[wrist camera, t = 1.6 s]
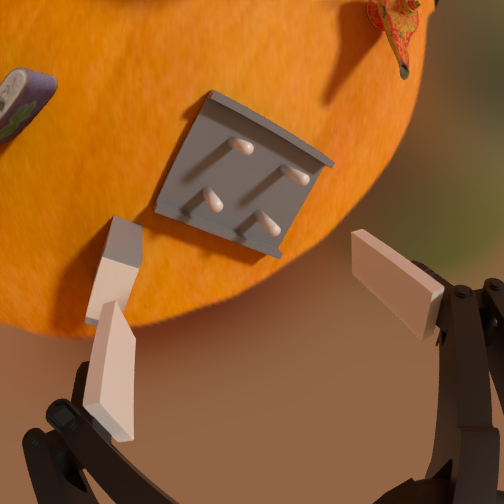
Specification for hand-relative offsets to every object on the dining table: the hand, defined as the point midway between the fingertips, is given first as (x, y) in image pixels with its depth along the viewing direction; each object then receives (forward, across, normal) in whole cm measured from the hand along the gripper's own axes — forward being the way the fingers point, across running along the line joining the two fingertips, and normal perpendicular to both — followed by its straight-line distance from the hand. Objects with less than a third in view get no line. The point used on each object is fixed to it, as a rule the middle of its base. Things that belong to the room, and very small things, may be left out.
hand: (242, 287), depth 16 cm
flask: (+18, -16, +15) cm, 29 cm away
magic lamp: (+20, +27, +19) cm, 39 cm away
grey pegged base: (+20, +5, +1) cm, 21 cm away
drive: (+20, -12, -4) cm, 23 cm away
